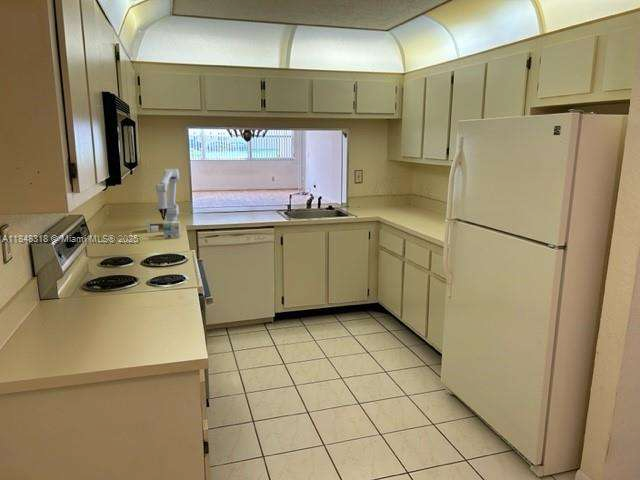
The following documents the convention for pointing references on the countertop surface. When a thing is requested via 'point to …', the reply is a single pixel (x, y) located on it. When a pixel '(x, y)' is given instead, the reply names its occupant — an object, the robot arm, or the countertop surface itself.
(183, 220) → the countertop surface
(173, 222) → the light bulb box
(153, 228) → the book
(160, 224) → the shelf
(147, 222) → the bookend
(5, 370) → the countertop surface
